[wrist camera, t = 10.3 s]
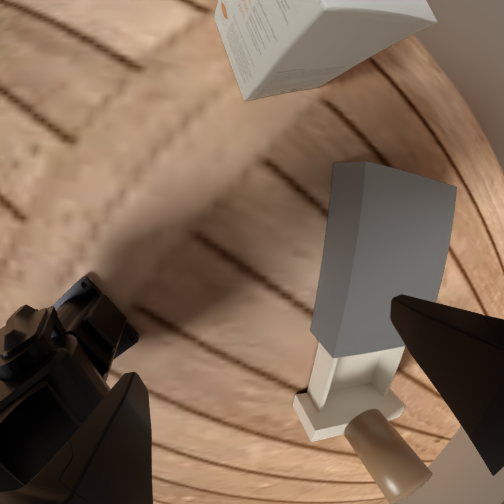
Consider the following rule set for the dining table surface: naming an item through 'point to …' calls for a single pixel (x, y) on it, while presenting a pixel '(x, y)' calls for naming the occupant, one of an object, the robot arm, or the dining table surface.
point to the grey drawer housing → (378, 253)
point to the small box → (310, 38)
